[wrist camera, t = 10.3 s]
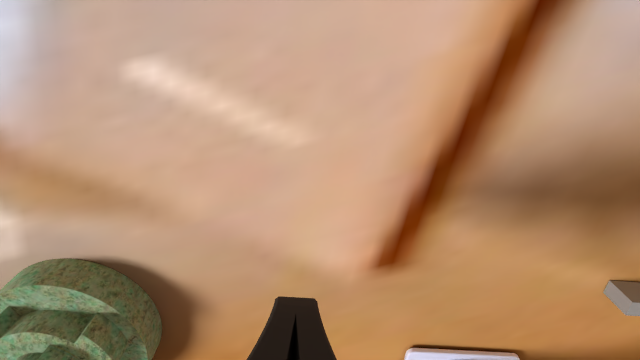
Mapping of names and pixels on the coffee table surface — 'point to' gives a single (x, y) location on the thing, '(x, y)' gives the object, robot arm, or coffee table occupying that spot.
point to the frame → (624, 296)
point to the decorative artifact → (76, 314)
